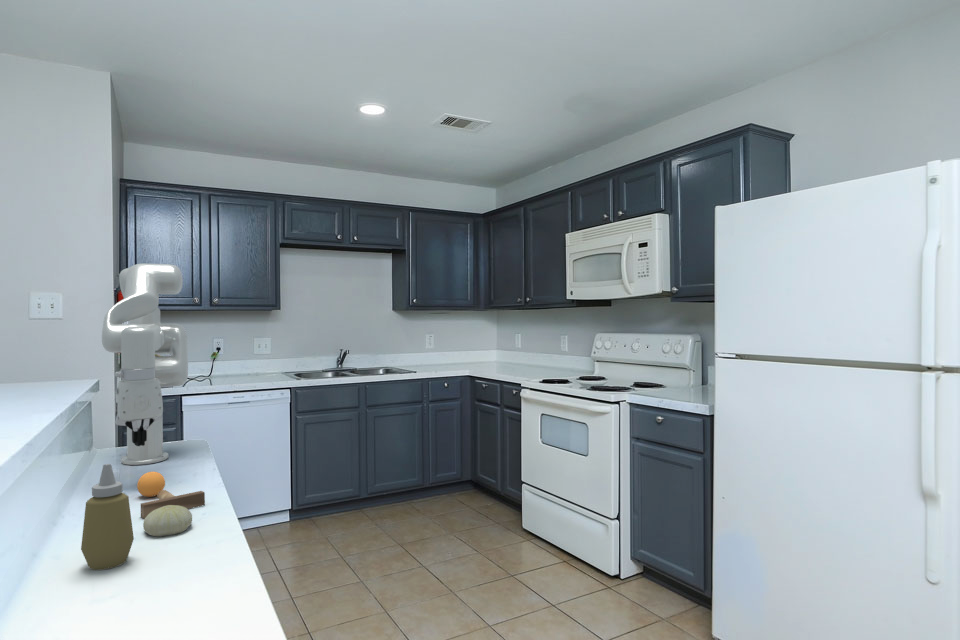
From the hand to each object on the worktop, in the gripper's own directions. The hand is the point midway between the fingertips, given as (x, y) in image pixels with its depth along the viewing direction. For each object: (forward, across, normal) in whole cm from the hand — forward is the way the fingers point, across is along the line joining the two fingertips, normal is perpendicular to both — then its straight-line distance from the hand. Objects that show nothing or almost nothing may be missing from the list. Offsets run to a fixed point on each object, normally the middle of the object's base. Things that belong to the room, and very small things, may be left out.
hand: (139, 444), depth 153 cm
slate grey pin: (+10, -10, -14) cm, 20 cm away
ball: (+8, 0, -11) cm, 13 cm away
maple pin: (+9, +1, -16) cm, 18 cm away
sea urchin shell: (+10, -5, -38) cm, 40 cm away
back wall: (+10, 0, -26) cm, 28 cm away
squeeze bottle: (+9, -19, -48) cm, 52 cm away
